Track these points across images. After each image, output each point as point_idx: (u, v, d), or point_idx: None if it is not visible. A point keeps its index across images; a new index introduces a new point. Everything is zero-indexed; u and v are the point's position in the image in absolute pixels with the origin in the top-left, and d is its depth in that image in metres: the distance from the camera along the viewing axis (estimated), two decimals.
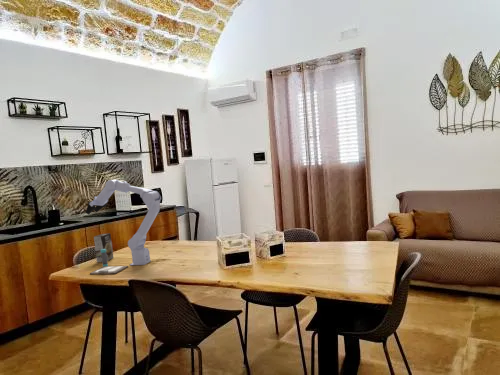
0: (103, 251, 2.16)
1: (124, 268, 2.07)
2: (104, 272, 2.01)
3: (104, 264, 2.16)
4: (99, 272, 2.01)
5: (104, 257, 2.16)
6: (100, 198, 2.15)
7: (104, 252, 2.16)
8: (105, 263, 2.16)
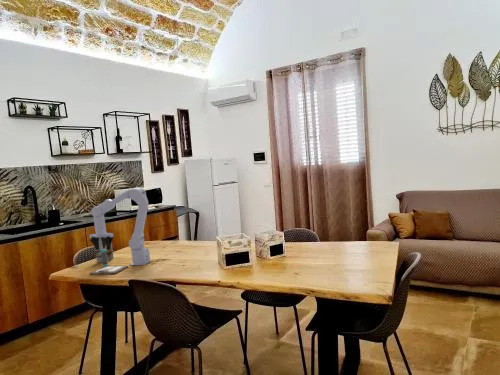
0: (103, 251, 2.16)
1: (124, 268, 2.07)
2: (104, 272, 2.01)
3: (104, 264, 2.16)
4: (99, 272, 2.01)
5: (104, 257, 2.16)
6: (104, 228, 2.15)
7: (104, 252, 2.16)
8: (105, 263, 2.16)
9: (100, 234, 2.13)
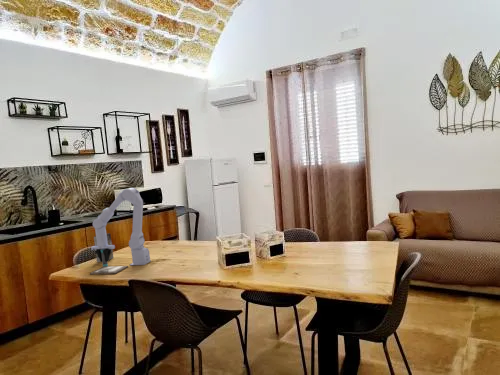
0: None
1: (124, 268, 2.07)
2: (104, 272, 2.01)
3: (104, 264, 2.16)
4: (99, 272, 2.01)
5: (104, 257, 2.16)
6: (106, 240, 2.16)
7: None
8: (105, 263, 2.16)
9: (102, 246, 2.14)
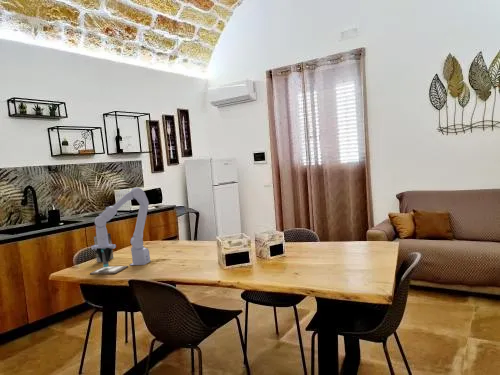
0: None
1: (124, 268, 2.07)
2: (104, 272, 2.01)
3: (105, 264, 2.08)
4: (99, 272, 2.01)
5: (105, 257, 2.08)
6: (107, 239, 2.08)
7: None
8: (106, 263, 2.08)
9: (102, 245, 2.06)
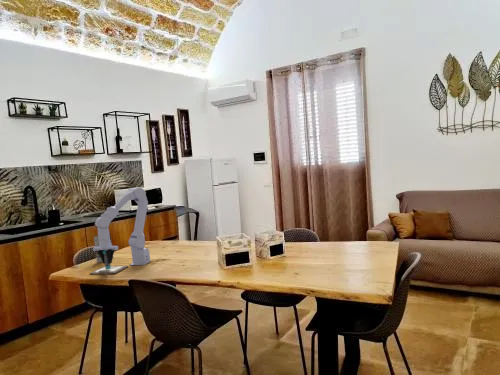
0: None
1: (124, 268, 2.07)
2: (104, 272, 2.01)
3: (107, 266, 2.03)
4: (99, 272, 2.01)
5: (107, 259, 2.03)
6: (109, 241, 2.03)
7: None
8: (108, 265, 2.03)
9: (104, 247, 2.01)
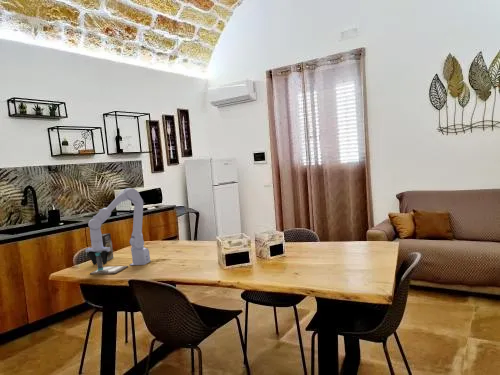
0: (98, 254, 2.04)
1: (124, 268, 2.07)
2: (104, 272, 2.01)
3: (99, 268, 2.04)
4: (99, 272, 2.01)
5: (99, 261, 2.04)
6: (101, 242, 2.04)
7: (99, 255, 2.04)
8: (100, 267, 2.04)
9: (97, 248, 2.02)
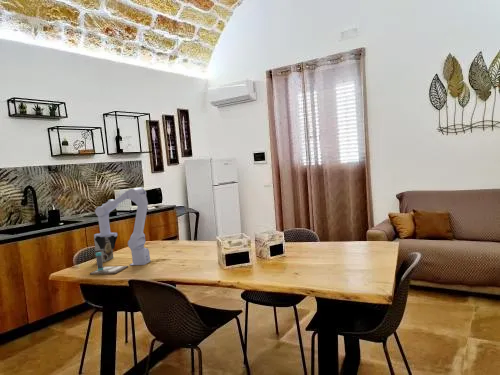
0: (98, 254, 2.04)
1: (124, 268, 2.07)
2: (104, 272, 2.01)
3: (99, 268, 2.04)
4: (99, 272, 2.01)
5: (99, 261, 2.04)
6: (109, 228, 2.19)
7: (99, 255, 2.04)
8: (100, 267, 2.04)
9: (104, 233, 2.17)
